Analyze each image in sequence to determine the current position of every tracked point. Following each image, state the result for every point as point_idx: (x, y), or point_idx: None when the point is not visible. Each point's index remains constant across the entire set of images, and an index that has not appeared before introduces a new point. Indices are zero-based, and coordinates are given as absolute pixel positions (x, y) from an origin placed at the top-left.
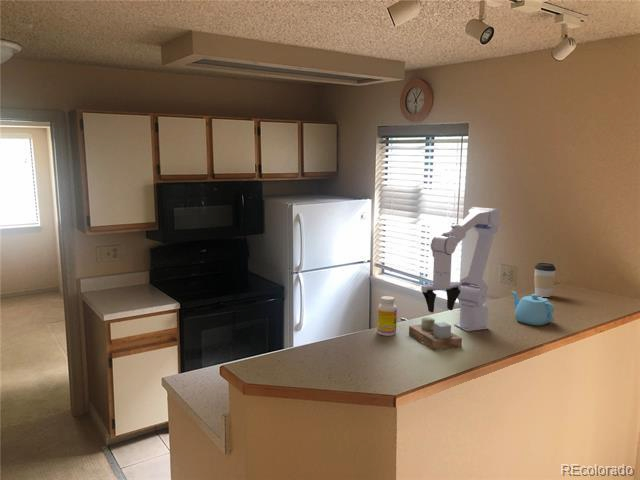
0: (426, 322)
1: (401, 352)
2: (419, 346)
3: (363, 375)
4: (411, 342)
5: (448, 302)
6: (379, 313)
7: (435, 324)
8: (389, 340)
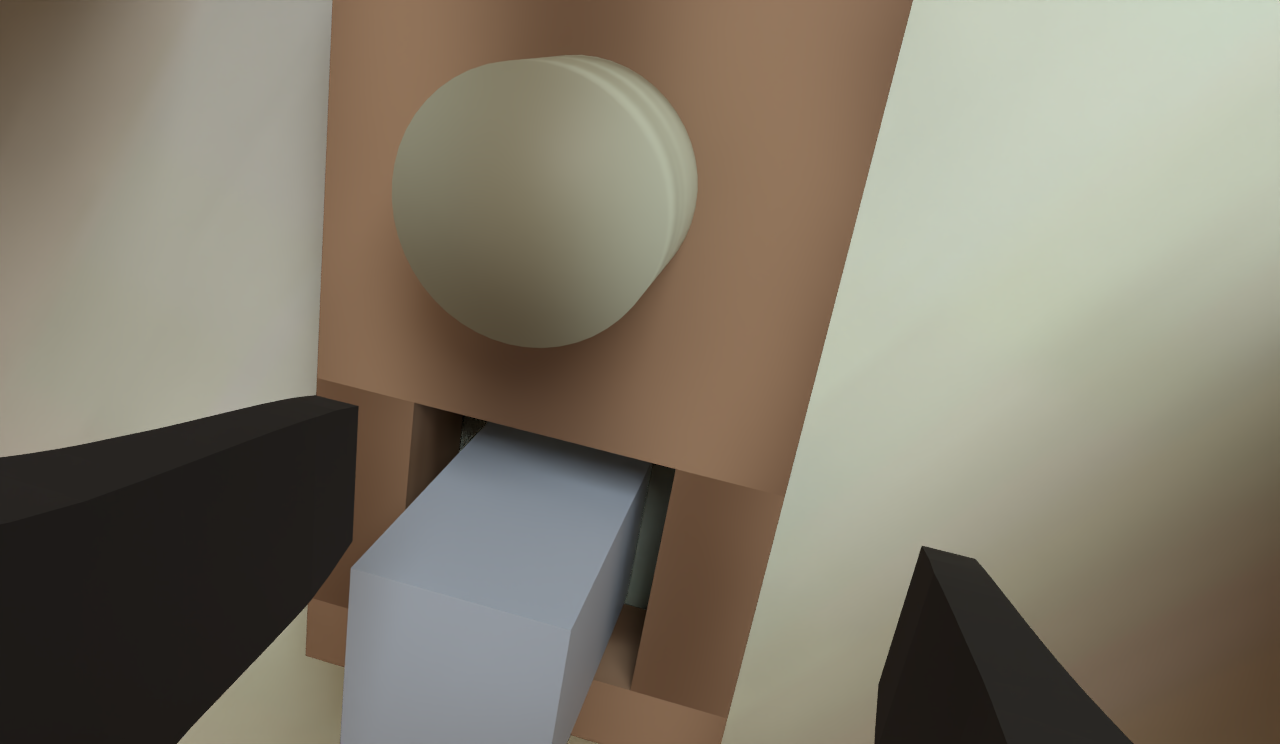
0: (432, 275)
1: (5, 418)
2: (277, 397)
3: None
4: (259, 235)
5: (941, 695)
6: None
7: (351, 611)
8: (24, 8)
